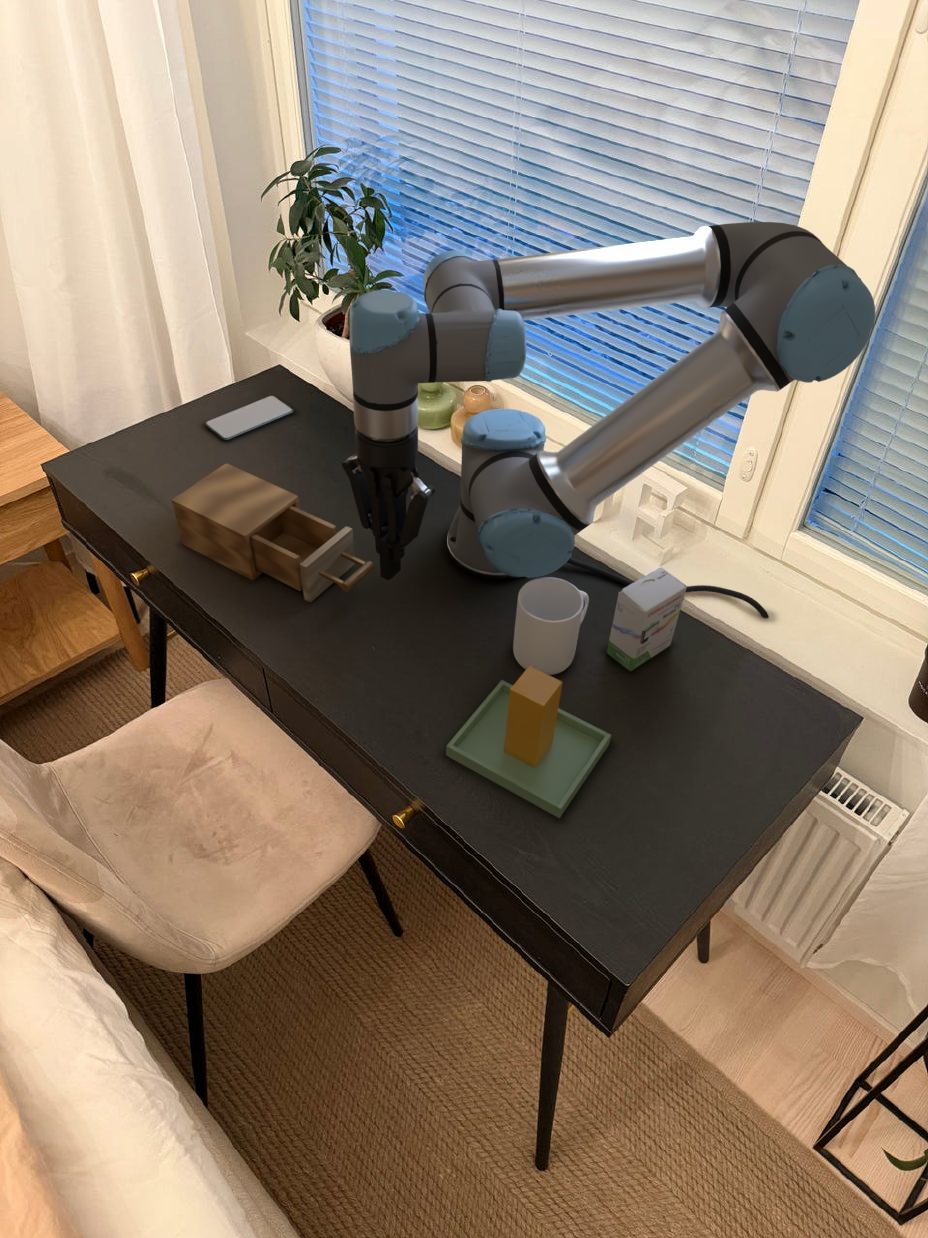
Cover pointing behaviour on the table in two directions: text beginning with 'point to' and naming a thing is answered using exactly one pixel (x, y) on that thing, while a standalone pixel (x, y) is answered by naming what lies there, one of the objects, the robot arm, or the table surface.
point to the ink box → (645, 618)
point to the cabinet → (229, 515)
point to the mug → (548, 624)
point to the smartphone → (249, 417)
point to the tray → (540, 785)
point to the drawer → (306, 553)
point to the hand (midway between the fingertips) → (390, 573)
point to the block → (532, 716)
